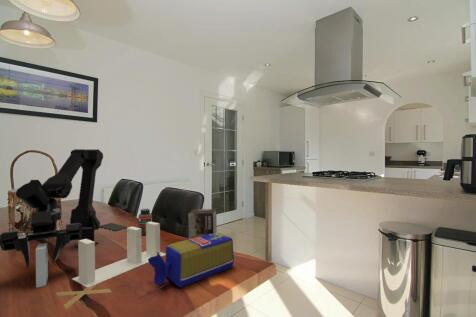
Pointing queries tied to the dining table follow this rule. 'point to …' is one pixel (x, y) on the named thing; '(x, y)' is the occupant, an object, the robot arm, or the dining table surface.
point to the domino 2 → (86, 260)
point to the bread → (193, 259)
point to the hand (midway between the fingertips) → (41, 263)
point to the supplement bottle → (144, 220)
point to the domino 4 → (152, 238)
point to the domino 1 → (41, 265)
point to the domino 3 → (134, 245)
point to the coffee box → (202, 222)
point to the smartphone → (113, 227)
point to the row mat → (115, 269)
